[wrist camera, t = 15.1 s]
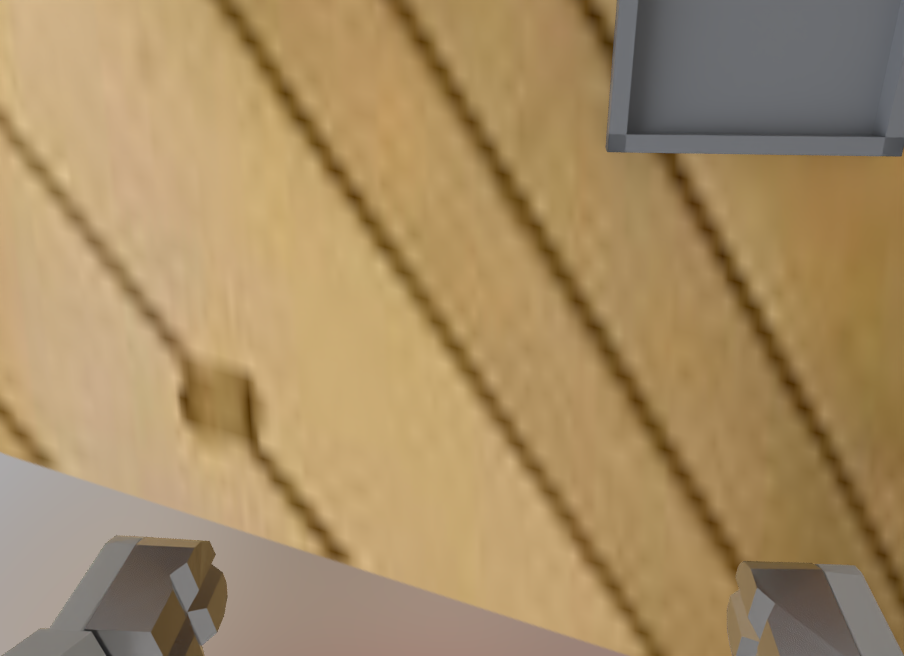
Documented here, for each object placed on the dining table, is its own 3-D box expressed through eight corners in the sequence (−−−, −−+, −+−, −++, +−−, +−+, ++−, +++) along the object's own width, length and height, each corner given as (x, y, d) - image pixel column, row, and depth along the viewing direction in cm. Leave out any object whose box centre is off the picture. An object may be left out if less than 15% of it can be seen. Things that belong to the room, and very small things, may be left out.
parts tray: (605, 147, 33) (607, 152, 31) (629, -155, 28) (633, -171, 26) (881, 151, 31) (901, 156, 29) (953, -174, 26) (982, -193, 24)
